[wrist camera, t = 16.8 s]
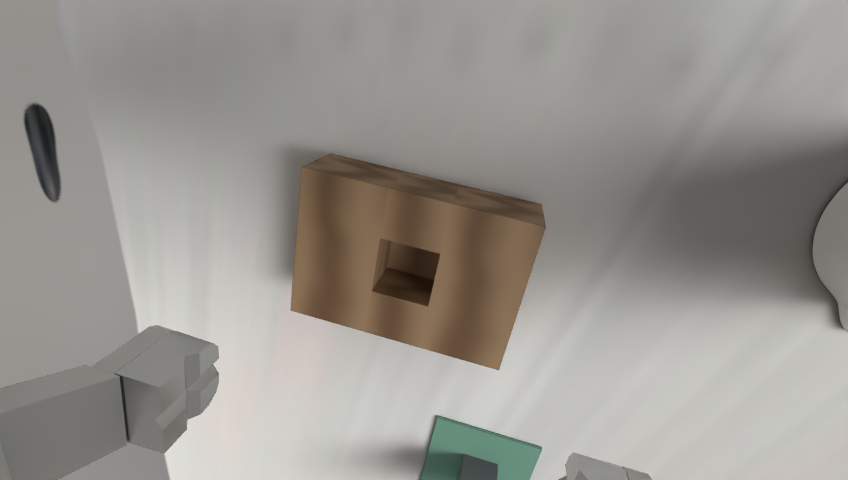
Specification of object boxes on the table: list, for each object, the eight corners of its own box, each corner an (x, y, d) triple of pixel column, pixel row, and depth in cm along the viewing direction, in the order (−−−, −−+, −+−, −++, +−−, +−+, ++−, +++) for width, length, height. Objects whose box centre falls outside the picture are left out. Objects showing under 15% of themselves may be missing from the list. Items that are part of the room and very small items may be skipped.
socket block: (541, 204, 38) (545, 227, 33) (501, 332, 44) (498, 370, 39) (330, 153, 41) (301, 166, 35) (317, 281, 46) (290, 310, 41)
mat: (541, 447, 48) (541, 450, 48) (512, 516, 53) (512, 519, 53) (437, 415, 50) (437, 418, 49) (418, 486, 54) (418, 488, 54)
